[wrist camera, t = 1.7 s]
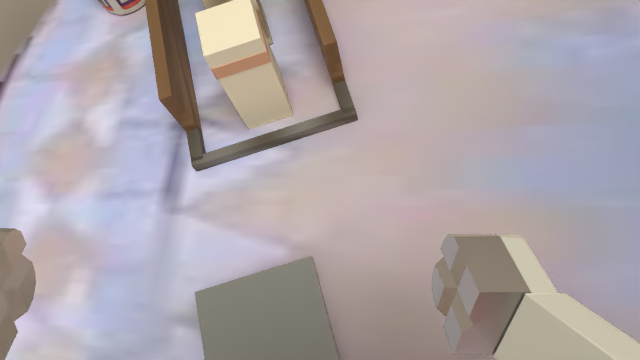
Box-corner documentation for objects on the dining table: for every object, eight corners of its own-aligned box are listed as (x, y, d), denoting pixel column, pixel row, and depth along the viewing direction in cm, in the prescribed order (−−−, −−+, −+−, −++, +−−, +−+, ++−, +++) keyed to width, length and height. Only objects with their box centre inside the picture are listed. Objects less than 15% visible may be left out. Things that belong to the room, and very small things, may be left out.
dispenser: (294, -61, 50) (268, -161, 41) (357, 119, 41) (342, 40, 32) (164, -17, 51) (111, -106, 42) (196, 171, 42) (137, 108, 33)
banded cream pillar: (283, 77, 44) (249, -6, 35) (293, 115, 42) (261, 37, 33) (239, 91, 44) (194, 12, 35) (247, 130, 42) (203, 57, 33)
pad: (312, 258, 37) (311, 256, 36) (346, 385, 33) (345, 385, 32) (198, 293, 37) (194, 292, 37) (217, 423, 33) (214, 423, 33)
